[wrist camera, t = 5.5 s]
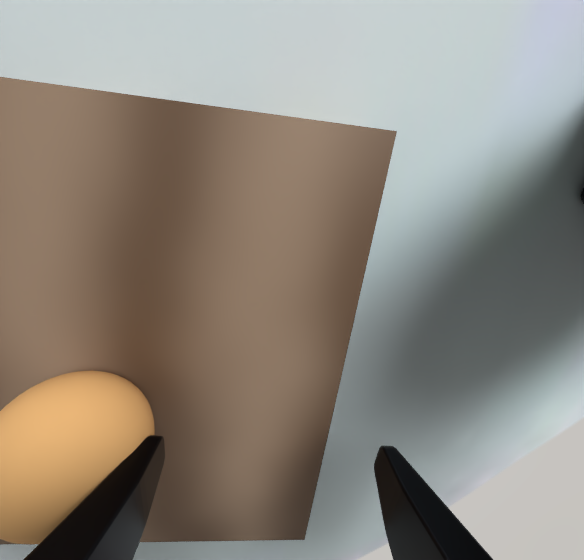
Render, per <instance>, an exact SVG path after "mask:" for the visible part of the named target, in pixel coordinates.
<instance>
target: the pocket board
mask: <svg viewBox="0 0 584 560" xmlns="http://www.w3.org/2000/svg"><path fill="white" fill-rule="evenodd" d="M396 132H397V131H390V130H383V129H376V128H368V127H361V126H354V125H346V124H339V123H332V122H325V121H317V120H310V119H303V118H295V117H288V116H281V115H274V114H266V113H259V112H252V111H244V110H237V109H230V108H223V107H215V106H208V105H201V104H193V103H186V102H179V101H172V100H164V99H157V98H150V97H142V96H135V95H128V94H121V93H113V92H106V91H99V90H91V89H84V88H77V87H70V86H62V85H55V84H48V83H40V82H33V81H26V80H19V79H11V78H4V77H0V411H1V410H2V409H3V408H4V407H5V406H6V405H7V404H9V403H10V402H11V401H12V400H14V399H15V398H16V397H17V396H19V395H20V394H22V393H23V392H25V391H26V390H28V389H29V388H31V387H33V386H35V385H37V384H39V383H41V382H43V381H45V380H48V379H50V378H53V377H56V376H59V375H62V374H67V373H71V372H77V371H102V372H108V373H112V374H115V375H118V376H120V377H123V378H125V379H127V380H128V381H130V382H131V383H133V384H134V385H135V386H136V387H137V388H138V389H140V391H141V392H142V393H143V394H144V396H145V397H146V399H147V400H148V402H149V404H150V407H151V410H152V413H153V418H154V430H155V432H154V435H159V436H163V437H164V445H165V461H164V465H163V468H162V472H161V475H160V478H159V482H158V485H157V489H156V492H155V496H154V499H153V502H152V506H151V509H150V513H149V516H148V519H147V522H146V526H145V528H144V531H143V534H142V537H141V539H140V542H178V541H244V540H304V539H305V534H306V530H307V526H308V521H309V517H310V512H311V508H312V503H313V499H314V495H315V490H316V486H317V481H318V477H319V473H320V468H321V464H322V459H323V455H324V450H325V446H326V442H327V437H328V433H329V428H330V424H331V419H332V415H333V411H334V406H335V402H336V397H337V393H338V389H339V384H340V380H341V375H342V371H343V366H344V362H345V358H346V353H347V349H348V344H349V340H350V336H351V331H352V327H353V322H354V318H355V313H356V309H357V305H358V300H359V296H360V291H361V287H362V283H363V278H364V274H365V269H366V265H367V260H368V256H369V252H370V247H371V243H372V238H373V234H374V229H375V225H376V221H377V216H378V212H379V207H380V203H381V199H382V194H383V190H384V185H385V181H386V176H387V172H388V168H389V163H390V159H391V154H392V150H393V146H394V141H395V137H396ZM0 544H16V543H11V542H7V541H4V540H2V539H0Z"/></svg>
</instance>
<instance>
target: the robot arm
mask: <svg viewBox="0 0 584 560" xmlns="http://www.w3.org/2000/svg"><path fill="white" fill-rule="evenodd" d="M581 200H582V202H583V203H584V188H583V191H582V194H581ZM164 461H165V445H164V437H163V436H159V435H150V436H148V437H146V438H145V439H144V440H143V442H142V443H141V444H140V445H139V446H138V447H137V448H136V449H135V450H134V451H133V452H132V453H131V454H130V455H129V456H128V457H127V458H126V459H125V460H123V461H122V462H121V463H120V464H119V465H118V466H117V467H116V468H115V469H114V470H113V471H112V472H111V473H110V474H109V475H108V476H107V477H106V478H105V479H104V480H103V481H102V482H101V483H100V484H99V485H98V486H97V487H96V488H95V489H94V490H93V491H92V492H91V493H90V494H89V495H88V496H87V497H86V498H85V499H84V500H83V501H82V502H81V503H80V504H79V505H78V506H77V507H76V508H75V509H74V510H73V511H72V512H71V513H70V514H69V515H68V516H67V517H66V518H65V519H64V520H63V521H62V522H61V523H60V524H59V525H58V526H57V527H56V528H55V529H54V530H53V531H52V532H51V533H50V534H49V535H48V536H47V537H46V538H45V539H44V540H43V541H42V542H41V543H40V544H39V545H38V546H37V547H36V548H35V549H34V550H33V551H32V552H31V553H30V554H29V555H28V556H27V557H26V558H25V559H24V560H133V557H134V554H135V552H136V549H137V547H138V544H139V542H140V539H141V537H142V534H143V531H144V528H145V526H146V522H147V519H148V516H149V513H150V509H151V506H152V502H153V499H154V496H155V492H156V489H157V485H158V482H159V478H160V475H161V472H162V468H163V465H164ZM374 471H375V477H376V482H377V488H378V493H379V499H380V504H381V510H382V515H383V520H384V525H385V530H386V534H387V538H388V542H389V546H390V549H391V553H392V556H393V559H394V560H493V559H492V558H491V557H490V555H489V554H488V553H487V552H486V551H485V550H484V549H483V547H482V546H481V545H480V544H479V543H478V542H477V541H476V539H475V538H474V537H473V536H472V535H471V534H470V532H469V531H468V530H467V529H466V528H465V527H464V526H463V525H462V523H460V521H459V520H458V519H457V518H456V517H455V515H454V514H453V513H452V512H451V511H450V510H449V508H448V507H447V506H446V505H445V504H444V503H443V502H442V500H441V499H440V498H439V497H438V496H437V495H436V494H435V492H434V491H433V490H432V489H431V488H430V487H429V486H428V484H427V483H426V482H425V481H424V480H423V479H422V478H421V476H420V475H419V474H418V473H417V472H416V471H415V470H414V468H413V467H412V466H411V465H410V464H409V463H408V462H407V460H406V459H405V458H404V457H403V456H402V455H401V454H400V452H399V451H398V450H397V449H396V448H395V447H393V446H381V447H380V448H379V451H378V454H377V457H376V460H375V463H374Z"/></svg>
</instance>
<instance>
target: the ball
mask: <svg viewBox="0 0 584 560" xmlns="http://www.w3.org/2000/svg"><path fill="white" fill-rule="evenodd" d="M154 432H155V430H154V418H153V413H152V410H151V407H150V404H149V402H148V400H147V399H146V397H145V396H144V394H143V393H142V392H141V391H140V389H138V388H137V387H136V386H135V385H134V384H133V383H131V382H130V381H128V380H127V379H125V378H123V377H120V376H118V375H115V374H112V373H108V372H102V371H77V372H71V373H67V374H62V375H59V376H56V377H53V378H50V379H48V380H45V381H43V382H41V383H39V384H37V385H35V386H33V387H31V388H29V389H28V390H26V391H25V392H23V393H22V394H20V395H19V396H17V397H16V398H15V399H14V400H12V401H11V402H10V403H9V404H7V405H6V406H5V407H4V408H3V409H2V410H1V411H0V539H2V540H4V541H7V542H11V543H16V544H40V543H41V542H42V541H43V540H44V539H45V538H46V537H47V536H48V535H49V534H50V533H51V532H52V531H53V530H54V529H55V528H56V527H57V526H58V525H59V524H60V523H61V522H62V521H63V520H64V519H65V518H66V517H67V516H68V515H69V514H70V513H71V512H72V511H73V510H74V509H75V508H76V507H77V506H78V505H79V504H80V503H81V502H82V501H83V500H84V499H85V498H86V497H87V496H88V495H89V494H90V493H91V492H92V491H93V490H94V489H95V488H96V487H97V486H98V485H99V484H100V483H101V482H102V481H103V480H104V479H105V478H106V477H107V476H108V475H109V474H110V473H111V472H112V471H113V470H114V469H115V468H116V467H117V466H118V465H119V464H120V463H121V462H122V461H123V460H125V459H126V458H127V457H128V456H129V455H130V454H131V453H132V452H133V451H134V450H135V449H136V448H137V447H138V446H139V445H140V444H141V443H142V442H143V440H144V439H145V438H146V437H148V436H150V435H154Z"/></svg>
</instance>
